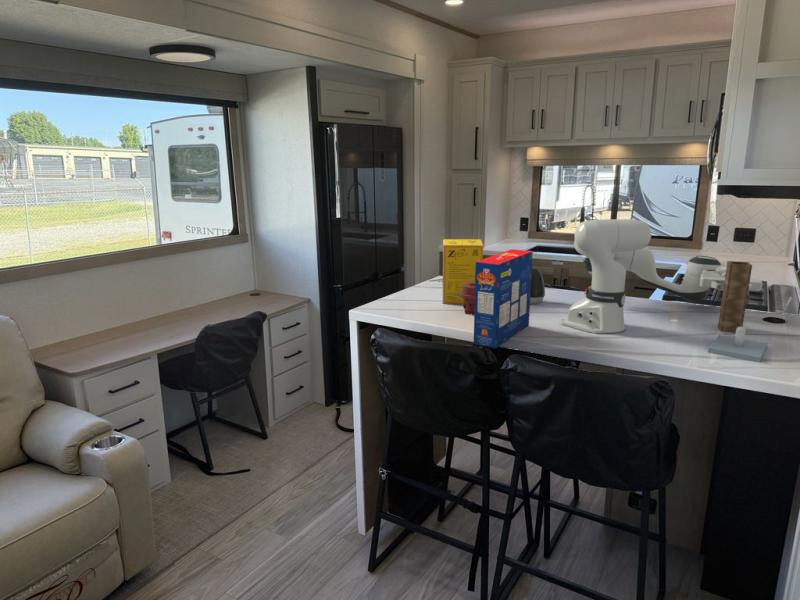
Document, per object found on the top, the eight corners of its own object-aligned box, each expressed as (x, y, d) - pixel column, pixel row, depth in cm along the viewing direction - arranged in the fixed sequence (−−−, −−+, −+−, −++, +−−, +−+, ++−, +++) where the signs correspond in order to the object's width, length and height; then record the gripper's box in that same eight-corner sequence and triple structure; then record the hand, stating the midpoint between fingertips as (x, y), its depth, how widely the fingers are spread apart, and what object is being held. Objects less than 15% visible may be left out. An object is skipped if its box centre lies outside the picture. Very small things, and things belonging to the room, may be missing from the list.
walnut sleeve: (720, 331, 196) (730, 264, 189) (717, 326, 201) (727, 261, 195) (741, 333, 193) (752, 265, 187) (738, 327, 199) (748, 262, 193)
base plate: (707, 352, 176) (711, 328, 174) (718, 339, 188) (721, 317, 186) (759, 362, 167) (763, 337, 165) (767, 347, 179) (771, 324, 177)
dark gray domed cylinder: (543, 299, 239) (545, 265, 235) (545, 306, 229) (547, 270, 225) (519, 299, 241) (521, 264, 237) (520, 305, 231) (521, 269, 227)
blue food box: (508, 322, 208) (511, 249, 201) (528, 326, 203) (532, 251, 196) (473, 343, 186) (475, 261, 179) (495, 348, 181) (498, 264, 174)
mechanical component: (458, 315, 218) (461, 308, 227) (484, 316, 216) (485, 309, 225) (459, 284, 214) (461, 279, 224) (485, 285, 212) (486, 280, 222)
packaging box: (443, 294, 250) (443, 239, 244) (479, 294, 249) (480, 239, 242) (442, 303, 235) (443, 245, 228) (481, 304, 233) (482, 245, 227)
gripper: (757, 289, 209) (765, 298, 197) (696, 285, 217) (700, 293, 204) (759, 273, 208) (768, 281, 195) (698, 269, 215) (703, 277, 203)
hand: (733, 287), depth 200 cm, fingers open, 8 cm apart
